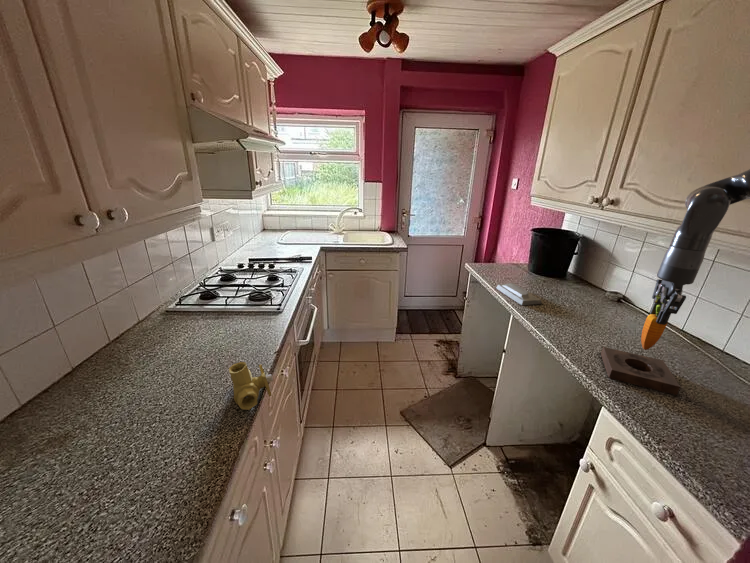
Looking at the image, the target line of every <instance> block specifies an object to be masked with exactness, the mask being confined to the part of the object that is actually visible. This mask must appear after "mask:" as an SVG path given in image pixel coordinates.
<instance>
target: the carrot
mask: <svg viewBox="0 0 750 563" xmlns="http://www.w3.org/2000/svg"><path fill="white" fill-rule="evenodd" d="M670 308H671V307H670ZM660 311H661V306H660V305H657V306H656V314H650V313H649V314H648V315H647V317H646V318H645V321H644V323H643V327H642V331H641V337H640V341H641V347H642V349H643V350H644V351H647V350H649V349H651V348H652V347H654V346H655V345H656V344H657V343H658V341H659V340H660V339H661V337H662V335H663V333H664V331H665V330H666V327H667V325H668V323H669V321H668V322H667V324H666V325H662V324H658V323H657V322H656V320H657V317H658V315H659V313H660Z"/></svg>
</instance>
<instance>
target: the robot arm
mask: <svg viewBox="0 0 750 563" xmlns="http://www.w3.org/2000/svg"><path fill="white" fill-rule="evenodd" d="M684 200H685V202H684V206H685V208H686V212H685V214H684V217H683V219H682V222H681V224H680V225H679V226H677V228H676V230H675V232H674V234H673V236H672V239H671V242H670V244H669V246H668V248H667V250H666V251H665V254H664V256H663V258H662V260H661V264H660V266H659V269H658V271H657V275H656V276H657V278H658V279H657V280H656V281H655V285H654V290H653V293H652V296H651V299H653V304H652V307H651V310H650V312H649V315H650V314H656V306H657V305H660V306H661V311H660V313H659V315H658V317H657V320H656V322H657V323H658V324H662V325H666V324H667V325H668V323H669V320H670V317H671V316H672V315H676V314H678V312H679V311H680V309H681V308H682V305H683V304H684V302H685V301H686V300H687V295H684V294H683V289H684V286H685V285H693V284H694V282H695V280H696V278H697V275H698V273H699V271H700V269H701V266H702V264H703V262H704V260H705V255H706V252H707V250H708V247H709V245H710V243H711V240H712V238H713V235H714V232H715V231H716V229H717V228H718V227H719V226H720V224H721V223H722V221H723V219H724V218H725V216H726V214H727V212H728V210H729V208H730V206H731V205H734V204H737V203H740V202H742V201H746V200H750V168H748V169H747V170H745V171H743V172H741V173H738V174H735V175H732V176H728V177H726V178H725V177H724V178H722V179H719V180H716V181H713V182H711V183H708V184H705V185H703V186H702V185H701V186H700V187H698V188H696V189H694V190H692V191H691V192H690V193H689V194H688V195H687V196H686V198H685V199H684ZM670 307H671V308H670ZM667 322H668V323H667ZM667 325H666V326H667Z"/></svg>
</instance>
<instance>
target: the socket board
mask: <svg viewBox="0 0 750 563" xmlns="http://www.w3.org/2000/svg"><path fill="white" fill-rule="evenodd" d="M600 357H601V358H602V361H603V362H602V363H603V365H604V368H605V371H606V374H607V377H608V379H612V380H615V381H619V382H623V383H627V384H631V385H635V386H638V387H643V388H647V389H651V390H654V391H658V392H662V393H666V394H670V395H673V396H677V395H678V394H679V391H680V389H681V385H680V383H679V382H678V381H677V379H676V378H675V376H674V375H673V373H672V372H671V370H670V369H669V367H668V365H667V364H666V362H665V360H663V359H660V358H659V359H658V358H655V357H651V356H646V355H641V354H637V353H633V352H630V351H629V352H628V351H624V350H619V349H615V348H612V347H611V348H610V347H606V346H603V347H602V350H601V352H600Z"/></svg>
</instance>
